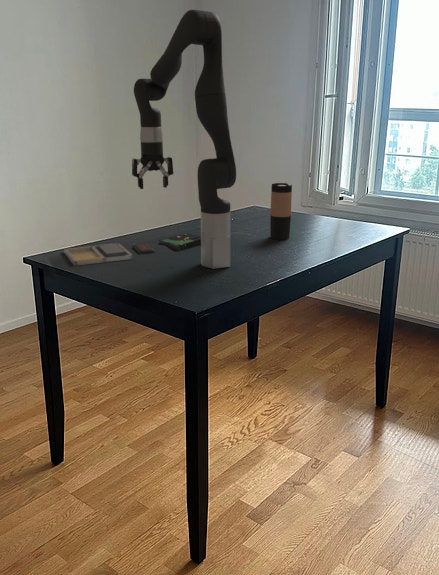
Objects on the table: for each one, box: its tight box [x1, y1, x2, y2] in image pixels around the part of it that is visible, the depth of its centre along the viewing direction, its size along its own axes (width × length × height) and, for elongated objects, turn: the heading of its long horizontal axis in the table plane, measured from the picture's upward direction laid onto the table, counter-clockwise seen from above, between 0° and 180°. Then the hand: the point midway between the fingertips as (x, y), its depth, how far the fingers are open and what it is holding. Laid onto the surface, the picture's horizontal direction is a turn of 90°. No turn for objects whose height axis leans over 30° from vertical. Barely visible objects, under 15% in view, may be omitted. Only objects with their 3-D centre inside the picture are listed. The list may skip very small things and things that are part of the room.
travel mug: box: [269, 182, 293, 241], centre depth 217 cm, size 8×8×20 cm
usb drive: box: [132, 241, 156, 255], centre depth 200 cm, size 5×12×3 cm, turn 22°
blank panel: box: [97, 242, 125, 258], centre depth 193 cm, size 12×6×2 cm, turn 25°
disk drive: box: [158, 232, 201, 252], centre depth 210 cm, size 10×3×15 cm
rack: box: [63, 242, 134, 267], centre depth 191 cm, size 17×19×2 cm
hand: (153, 188), depth 204 cm, fingers open, 8 cm apart
